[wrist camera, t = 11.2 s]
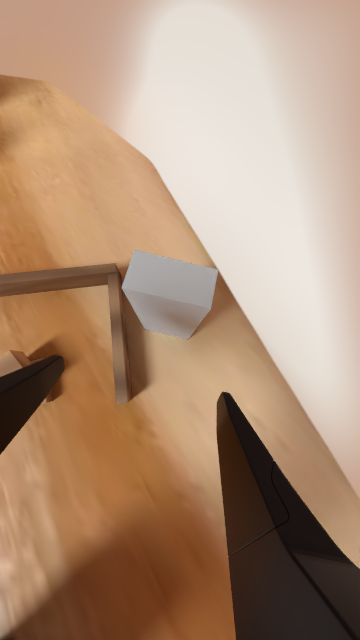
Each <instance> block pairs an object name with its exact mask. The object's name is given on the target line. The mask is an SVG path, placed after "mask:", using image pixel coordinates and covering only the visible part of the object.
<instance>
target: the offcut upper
mask: <svg viewBox="0 0 360 640" xmlns="http://www.w3.org/2000/svg"><path fill="white" fill-rule="evenodd" d="M30 364H32V363H31V362H30V360H29V359H28V358H27V357H26V355H25V354H24V353H23V352H19V351H11V350H9V351H8V352H6V353H5V354H4V355H2V356H1V357H0V377H1V376H4V375H6V374H9V373H11V372H13V371H16V370H18V369H21V368H23V367H26V366H28V365H30Z"/></svg>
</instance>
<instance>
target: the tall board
mask: <svg viewBox="0 0 360 640" xmlns="http://www.w3.org/2000/svg"><path fill="white" fill-rule="evenodd" d="M217 273H218V270H217V269H213V268H209V267H205V266H201V265H196V264H192V263H188V262H184V261H180V260H176V259H171V258H167V257H163V256H159V255H155V254H151V253H147V252H142V251H138V250H135V251H134V253H133V256H132V259H131V262H130V265H129V268H128V270H127V273H126V276H125V279H124V282H123V284H122V287H121V288H122V290H123V291H124V293H125V295H126V297H127V298H128V300H129V302H130V304H131V306H132V307H133V309H134V311H135V313H136V314H137V316H138V318H139V320H140V322H141V323H142V325H143V327H144V329H146V330H150V331H154V332H158V333H163V334H167V335H171V336H175V337H179V338H184V339H189V338H190V336H191V335H192V334H193V332H194V331H195V330H196V328H197V327H198V326H199V324H200V323H201V322H202V320H203V319H204V318H205V316H206V315H207V314H208V312H209V311H210V310H211V306H212V301H213V295H214V290H215V284H216V279H217Z"/></svg>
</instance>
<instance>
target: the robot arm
mask: <svg viewBox="0 0 360 640" xmlns="http://www.w3.org/2000/svg"><path fill="white" fill-rule="evenodd" d="M64 368H65V366H64V360H63V357H62V356H59V355H52V356H50V357H47V358H45V359H43V360H40V361H38V362H35V363H33V364H30V365H28V366H26V367H23V368H21V369H18V370H16V371H13V372H11V373H9V374H6V375H4V376H1V377H0V454H1V453H2V452H3V451H4V449H5V448H6V447H7V446H8V444H9V443H10V442H11V441H12V439H13V438H14V437H15V436H16V434H17V433H18V432H19V431H20V429H21V428H22V427H23V426H24V424H25V423H26V422H27V421H28V419H29V418H30V417H31V416H32V414H33V413H34V412H35V411H36V409H37V408H38V407H39V406H40V404H41V403H42V402H43V401H44V399H45V398H46V397H47V395H48V394H49V392H50V391H51V389H52V388H53V386H54V385H55V383H56V382H57V380H58V379H59V377H60V376H61V374H62V373H63V371H64ZM217 444H218V454H219V464H220V475H221V485H222V496H223V506H224V516H225V527H226V537H227V548H228V556H229V558H228V559H229V570H230V580H231V590H232V601H233V611H234V622H235V632H236V640H360V569H359V568H358V567H357V566H356V565H355V564H354V563H353V562H352V561H351V560H349V558H348V557H347V556H346V555H345V554H344V553H343V552H342V551H341V550H340V549H339V547H338V546H337V545H336V544H335V543H334V541H333V540H332V539H331V538H330V536H329V535H328V534H327V532H326V531H325V530H324V528H323V527H322V526H321V524H320V523H319V522H318V520H317V519H316V518H315V516H314V515H313V514H312V512H311V511H310V510H309V508H308V507H307V506H306V505H305V503H304V502H303V501H302V499H301V498H300V496H299V495H298V494H297V492H296V491H295V490H294V488H293V487H292V486H291V484H290V483H289V481H288V480H287V478H286V477H285V476H284V474H283V473H282V471H281V470H280V468H279V467H278V465H277V464H276V462H275V461H273V458H272V456H271V455H270V453H269V452H268V450H267V449H266V447H265V446H264V444H263V443H262V441H261V440H260V438H259V437H258V435H257V434H256V432H255V431H254V429H253V428H252V426H251V425H250V423H249V422H248V420H247V419H246V417H245V416H244V414H243V413H242V411H241V410H240V408H239V407H238V405H237V403H236V402H235V400H234V399H233V397H232V396H231V394H230V393H227V392H222V393H221V395H220V397H219V399H218V401H217Z"/></svg>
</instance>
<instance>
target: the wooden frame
mask: <svg viewBox="0 0 360 640" xmlns="http://www.w3.org/2000/svg"><path fill="white" fill-rule="evenodd" d="M99 285H108V288H109V303H110V319H111V334H112V349H113V365H114V380H115V395H116V405H119V404H125V403H128V402H129V401H130V400H132V391H131V380H130V368H129V357H128V346H127V334H126V323H125V312H124V300H123V290H122V288H121V287H122V278H121V274H120V272H119V270H118V268H117V266H116V264H105V265H95V266H85V267H75V268H64V269H54V270H44V271H34V272H24V273H14V274H4V275H0V297H1V296H10V295H19V294H28V293H37V292H46V291H54V290H63V289H72V288H81V287H90V286H99Z"/></svg>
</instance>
